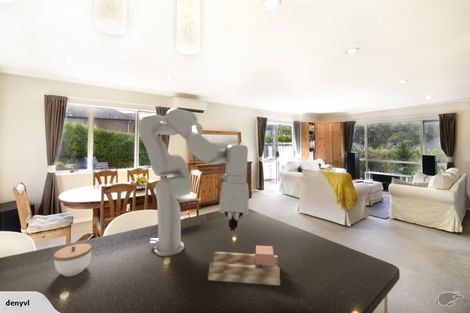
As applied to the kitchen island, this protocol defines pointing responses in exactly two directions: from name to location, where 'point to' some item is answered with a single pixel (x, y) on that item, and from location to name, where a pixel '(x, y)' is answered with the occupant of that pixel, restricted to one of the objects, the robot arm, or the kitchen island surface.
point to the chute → (242, 269)
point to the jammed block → (264, 256)
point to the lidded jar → (72, 259)
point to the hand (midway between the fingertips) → (232, 229)
